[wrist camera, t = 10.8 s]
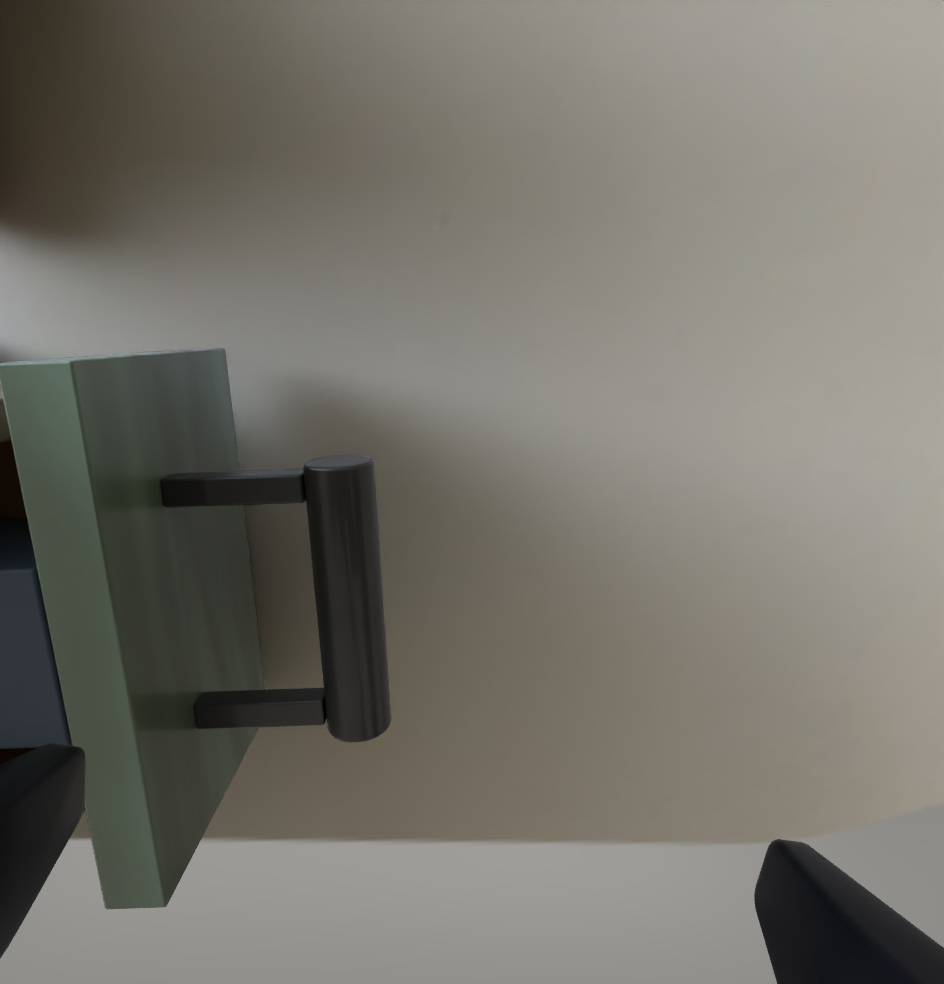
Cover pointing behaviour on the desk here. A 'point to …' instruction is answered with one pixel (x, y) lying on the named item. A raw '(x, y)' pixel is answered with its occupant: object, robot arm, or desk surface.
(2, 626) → the block
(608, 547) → the desk surface
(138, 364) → the drawer
